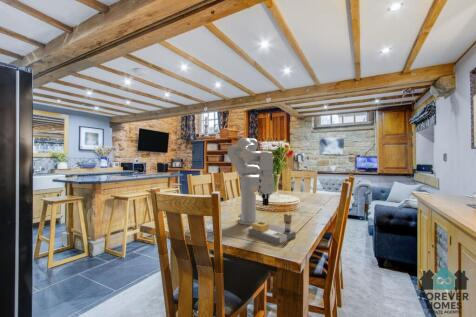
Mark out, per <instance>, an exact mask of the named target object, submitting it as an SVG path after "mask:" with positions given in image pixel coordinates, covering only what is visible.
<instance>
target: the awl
mask: <svg viewBox="0 0 476 317" xmlns="http://www.w3.org/2000/svg"><path fill="white" fill-rule="evenodd" d="M292 218H293V217H292V214H291V213H284V214H283V223H284V228H285V232H291V230H292V229H291V227H292V226H291V224H292V222H293V221H292Z"/></svg>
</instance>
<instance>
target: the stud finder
mask: <svg viewBox="0 0 476 317" xmlns="http://www.w3.org/2000/svg"><path fill="white" fill-rule="evenodd" d="M269 224H270V223H266V222H262V221H258V222H256V223H252V225H251V228H252V229H254V230H257V231H260V232H263V231H266V230H269Z"/></svg>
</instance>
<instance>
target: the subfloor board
mask: <svg viewBox="0 0 476 317" xmlns="http://www.w3.org/2000/svg"><path fill="white" fill-rule="evenodd" d="M268 224H269V230H266V231H263V232H260V231H257V230H254V229H252V227H250V228H248V232H247V233H248V235H249V236H252V237H255V238H258V239H261V240H263V241H266V242H269V243H272V244H275V245H279V244H282V243H285V242H287V241H289V240H292V239H294V238H296V235H297V234H296V232H297V231H295V230H292V229H291V232H285V227H282V226H277V225H274V224H271V223H268Z"/></svg>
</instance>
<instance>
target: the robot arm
mask: <svg viewBox="0 0 476 317" xmlns="http://www.w3.org/2000/svg"><path fill="white" fill-rule="evenodd" d="M258 146H259V143H258V140H257V139H256V138H252V137H240V138H239V139H238V140H237V141H236V144H231V145H230V146H229V147H228V148H227V156H228V159H229V161H230V163H231V164H232V165H233V167H234V169H235V171H236V173H237V175H238V177H240V179H239V184H240V192H241V194H240V195H241V198H240V199H241V202H240V203H241V204H240V206H241V209H240V210H241V212H240V214H239V215H238V216H237V217H238V218H240V219H239V220H238V223H239V224H241V225H246V226H252V223H256V222H259V220H258V219H257V216H256V215H257V213H256V212H257V209H256V208H257V202H256V201H257V197H256V193H255V192H254V190H257V193H258V196H260V197H261V199H262V202H261V203H262V206H265V207H268V206H269V205H270V204H269V202H270V201H269V200H270V196H271V195H272V194H273V193H274V192H275V177H274V174H273V171H274V170H273V169H274V166H273V164H274V153H273V152H272V151H261V150H258V151H257V149H258ZM257 164H259V165H257Z"/></svg>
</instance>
